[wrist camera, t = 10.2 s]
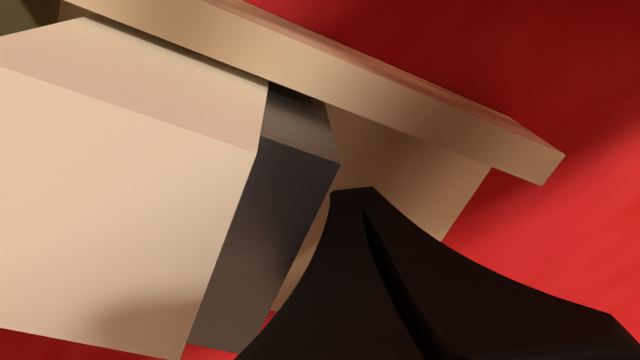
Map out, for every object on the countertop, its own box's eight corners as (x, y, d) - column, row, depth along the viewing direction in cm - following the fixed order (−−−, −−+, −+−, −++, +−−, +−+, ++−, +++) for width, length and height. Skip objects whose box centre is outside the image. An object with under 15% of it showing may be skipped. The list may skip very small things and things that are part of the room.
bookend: (321, 93, 11) (340, 164, 7) (259, 240, 13) (247, 355, 9) (270, 73, 10) (260, 135, 6) (215, 228, 13) (183, 342, 9)
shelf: (507, 116, 13) (655, 215, 8) (372, 320, 17) (409, 471, 12) (-227, -204, 8) (-1133, -507, 3) (-161, 189, 12) (-481, 347, 7)
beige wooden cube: (271, 69, 11) (257, 153, 6) (220, 212, 13) (178, 361, 8) (118, 8, 10) (-52, 49, 5) (91, 174, 12) (-47, 318, 7)
